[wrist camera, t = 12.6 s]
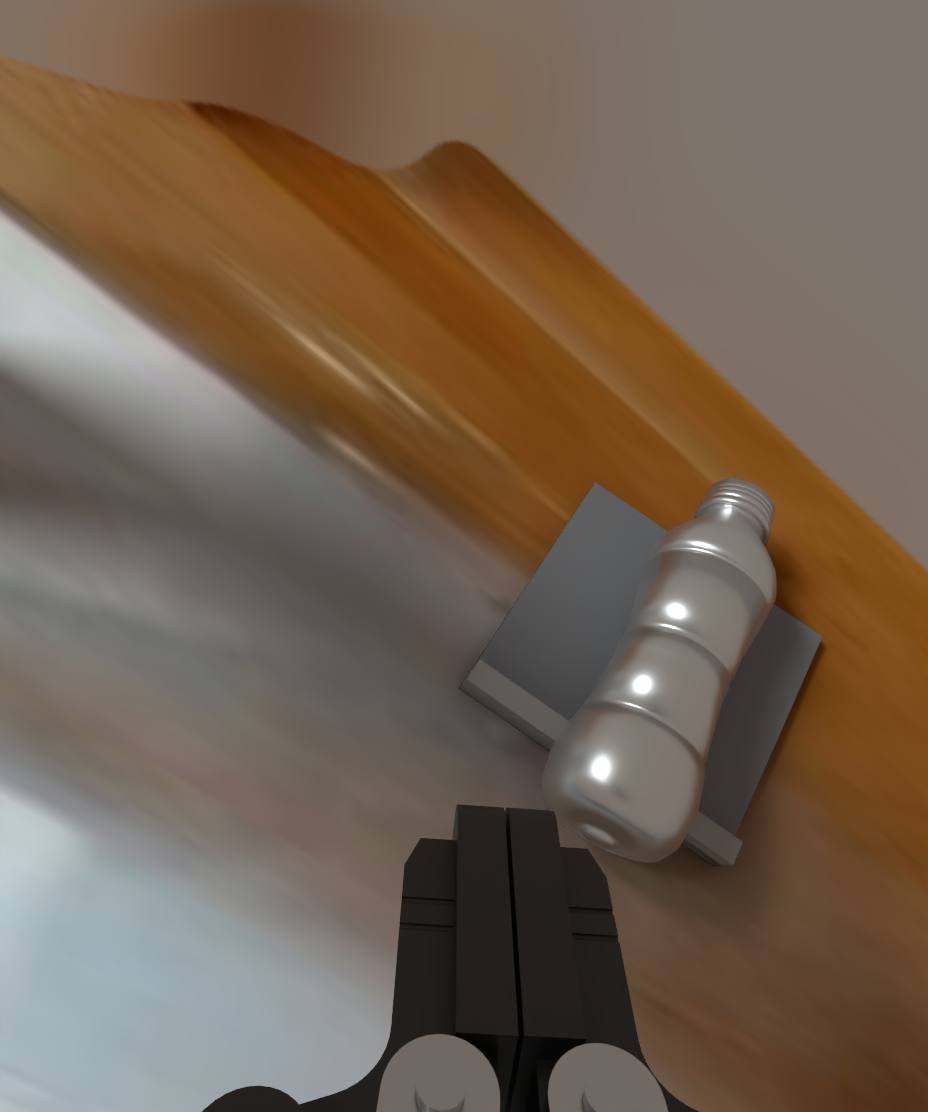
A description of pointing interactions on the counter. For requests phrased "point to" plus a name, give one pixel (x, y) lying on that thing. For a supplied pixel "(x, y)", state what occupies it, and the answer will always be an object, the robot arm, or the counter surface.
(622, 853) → the silver aluminum bottle
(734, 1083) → the counter surface
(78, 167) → the counter surface
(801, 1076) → the counter surface
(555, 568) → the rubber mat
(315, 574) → the counter surface
